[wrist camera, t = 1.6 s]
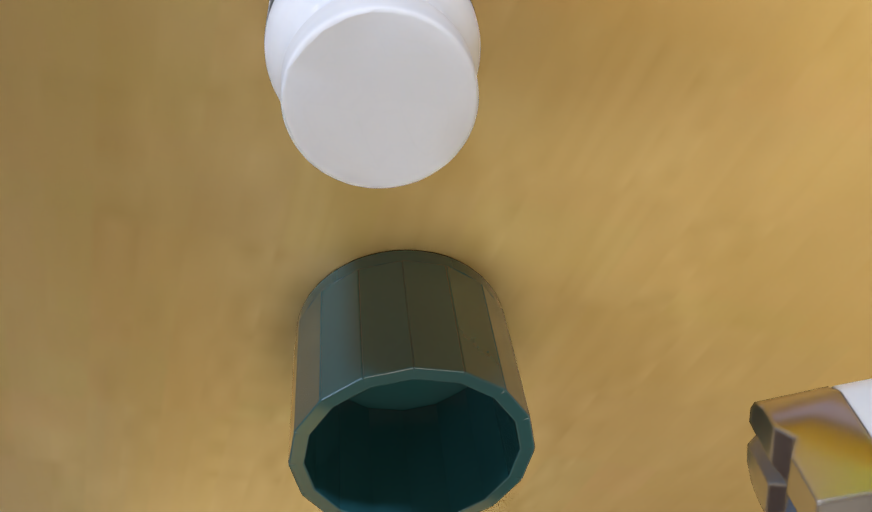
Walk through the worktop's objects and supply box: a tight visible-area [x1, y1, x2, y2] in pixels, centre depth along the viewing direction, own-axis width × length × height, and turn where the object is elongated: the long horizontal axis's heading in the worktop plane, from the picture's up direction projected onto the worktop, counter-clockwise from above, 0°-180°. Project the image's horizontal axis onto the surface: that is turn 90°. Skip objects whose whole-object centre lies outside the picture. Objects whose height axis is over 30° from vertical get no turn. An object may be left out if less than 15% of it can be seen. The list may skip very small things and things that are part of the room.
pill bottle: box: [264, 0, 481, 188], centre depth 23 cm, size 6×6×10 cm
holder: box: [288, 250, 535, 512], centre depth 34 cm, size 9×9×7 cm
